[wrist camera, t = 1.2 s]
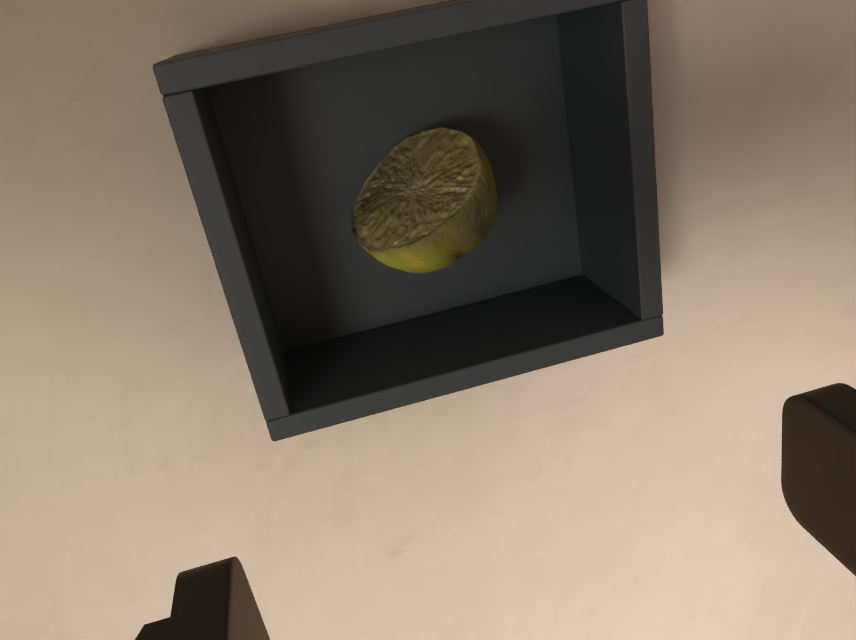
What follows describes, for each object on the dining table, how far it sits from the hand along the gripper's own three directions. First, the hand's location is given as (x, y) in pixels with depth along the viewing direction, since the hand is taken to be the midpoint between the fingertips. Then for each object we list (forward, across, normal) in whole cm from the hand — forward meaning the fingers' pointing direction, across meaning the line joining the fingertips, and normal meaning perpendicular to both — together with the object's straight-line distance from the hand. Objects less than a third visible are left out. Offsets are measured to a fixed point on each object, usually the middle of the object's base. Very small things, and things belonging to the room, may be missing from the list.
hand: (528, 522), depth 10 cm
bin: (+18, -2, -1) cm, 18 cm away
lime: (+18, -2, -1) cm, 18 cm away
